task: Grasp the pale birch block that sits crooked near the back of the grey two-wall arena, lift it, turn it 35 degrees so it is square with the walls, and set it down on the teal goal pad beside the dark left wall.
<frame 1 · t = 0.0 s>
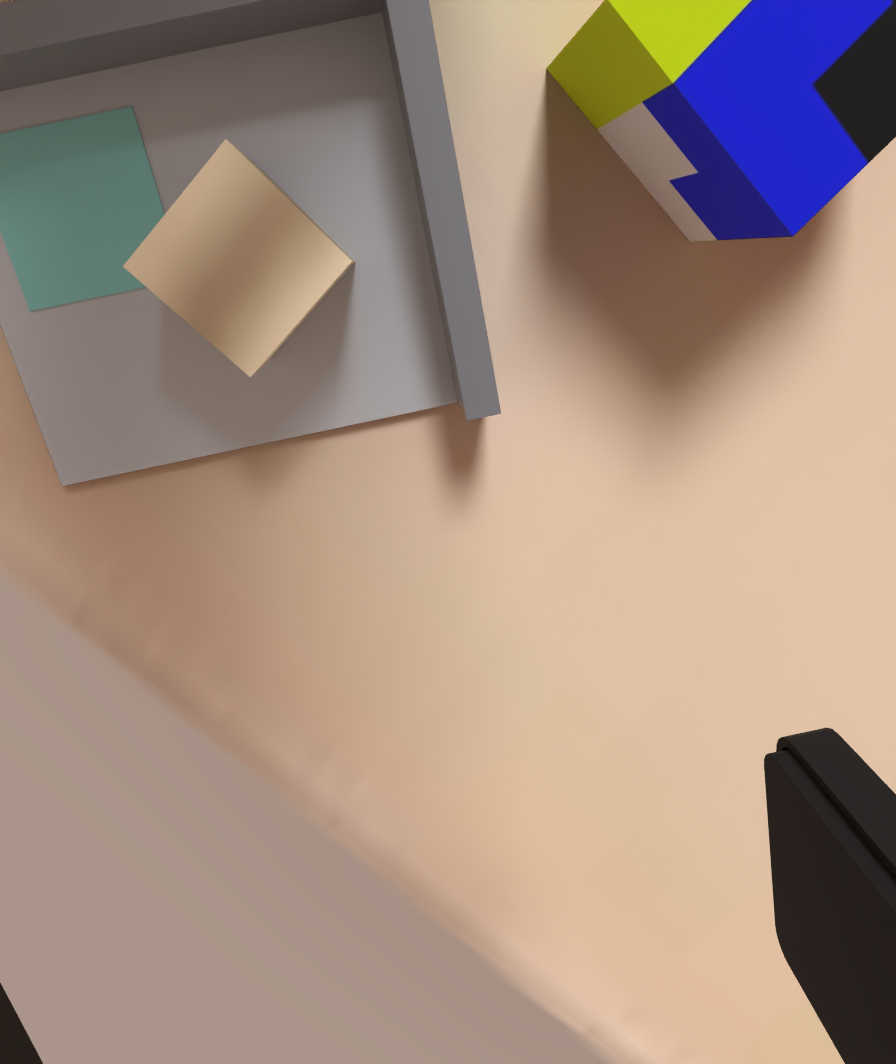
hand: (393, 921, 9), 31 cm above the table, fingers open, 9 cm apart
puzzle toy: (702, 71, 35), on the table
birch block: (260, 262, 35), point 1 cm above the table, touching arena
arena: (223, 246, 35), on the table
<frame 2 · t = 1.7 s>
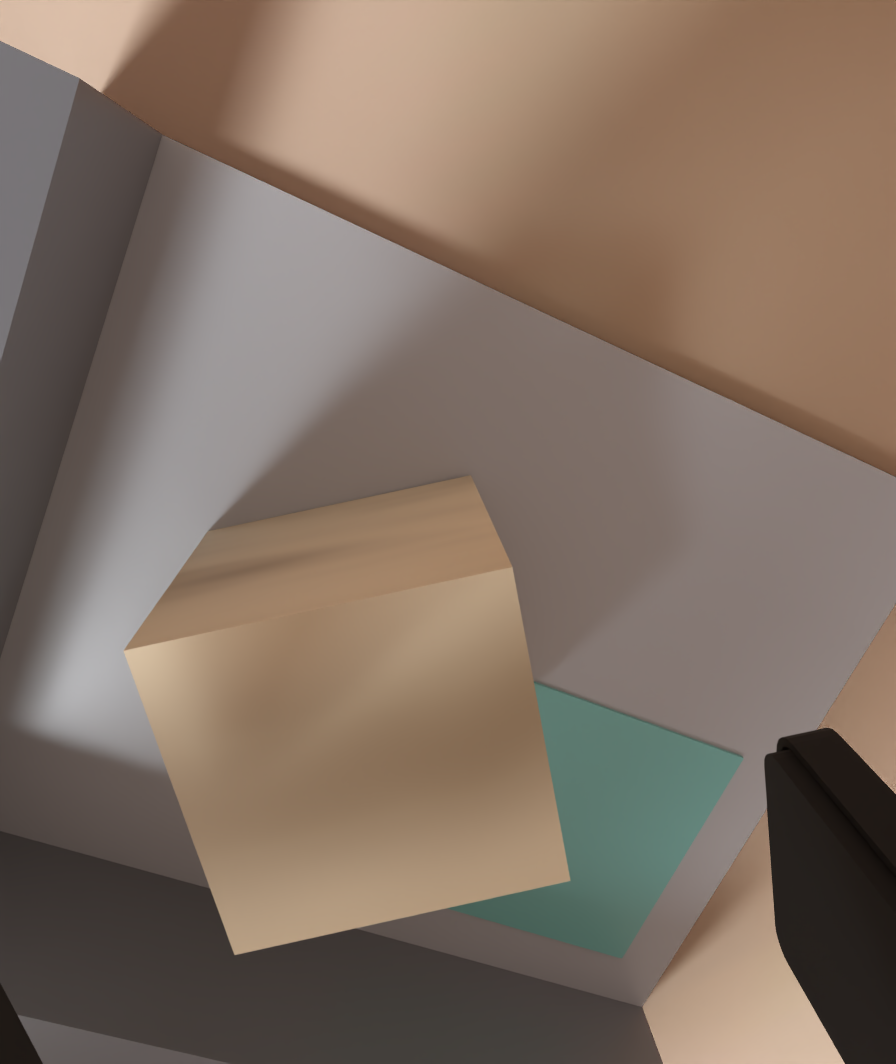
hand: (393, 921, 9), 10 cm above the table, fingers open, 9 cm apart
birch block: (369, 623, 19), point 1 cm above the table, touching arena
arena: (410, 668, 20), on the table
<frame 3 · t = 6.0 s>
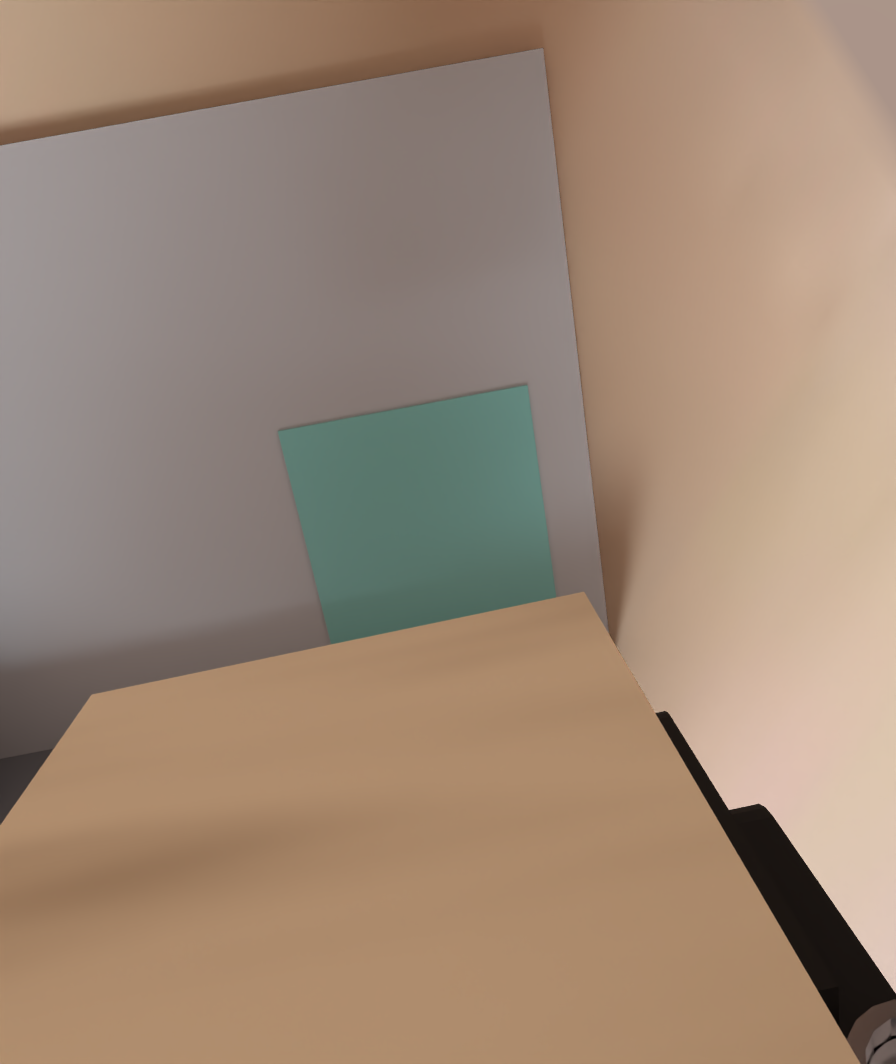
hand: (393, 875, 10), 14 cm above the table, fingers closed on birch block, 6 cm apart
birch block: (392, 843, 10), point 14 cm above the table, touching gripper
arena: (219, 473, 23), on the table
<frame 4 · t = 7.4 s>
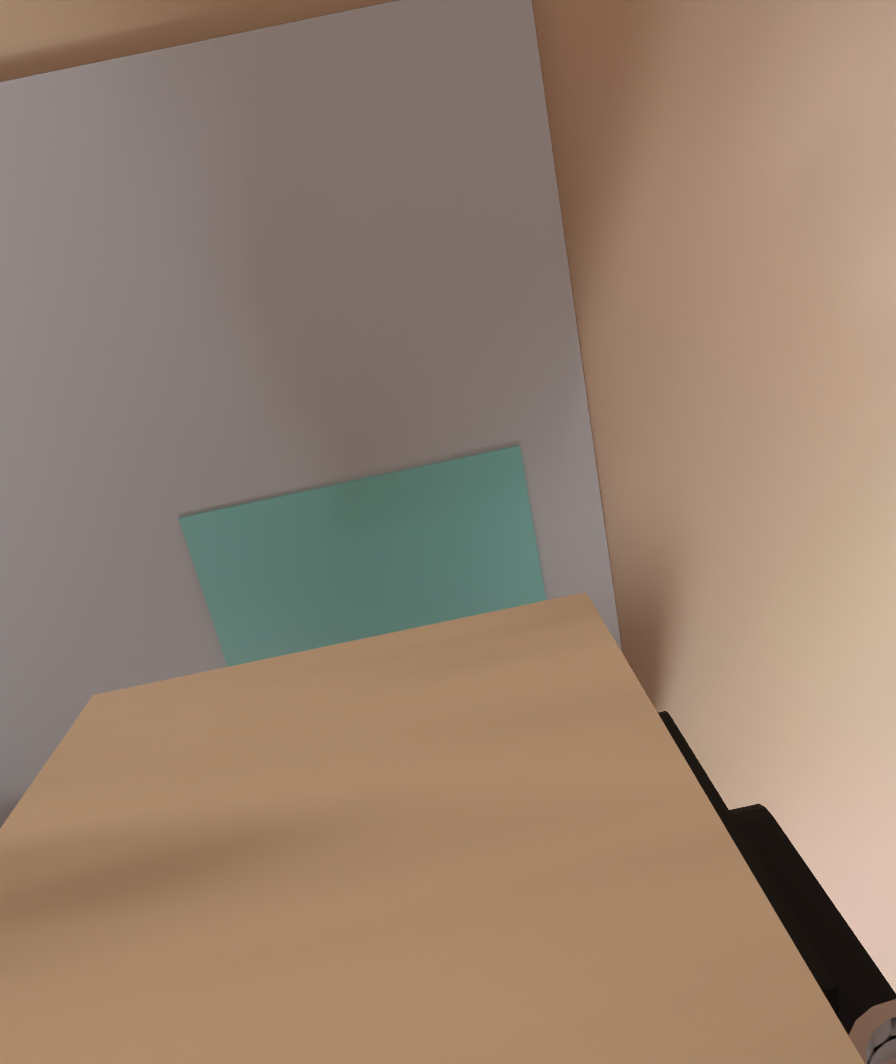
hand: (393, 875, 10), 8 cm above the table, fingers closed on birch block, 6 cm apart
birch block: (393, 843, 10), point 7 cm above the table, touching gripper
arena: (107, 573, 17), on the table
when the fingers open (2 cm above the table, at t = 8.9 s): birch block drops 1 cm, resting on arena.
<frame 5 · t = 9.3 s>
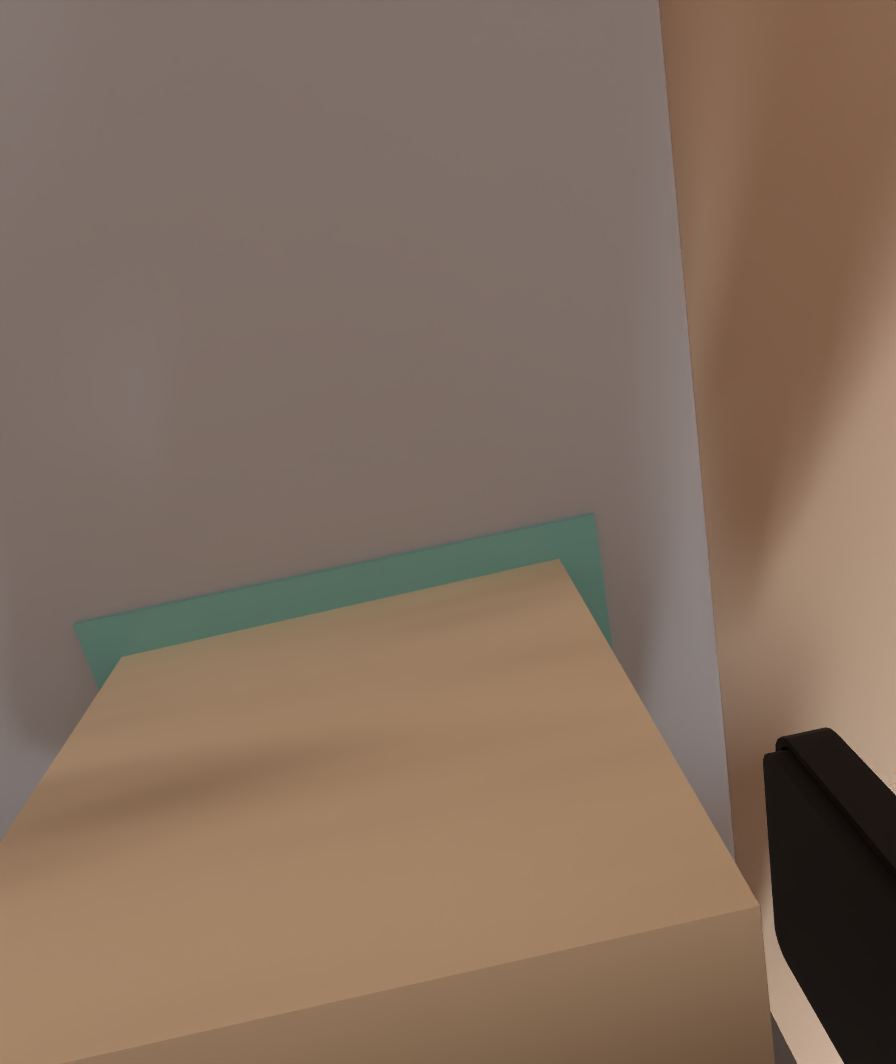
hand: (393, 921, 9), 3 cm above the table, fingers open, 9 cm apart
birch block: (392, 788, 12), point 1 cm above the table, touching arena
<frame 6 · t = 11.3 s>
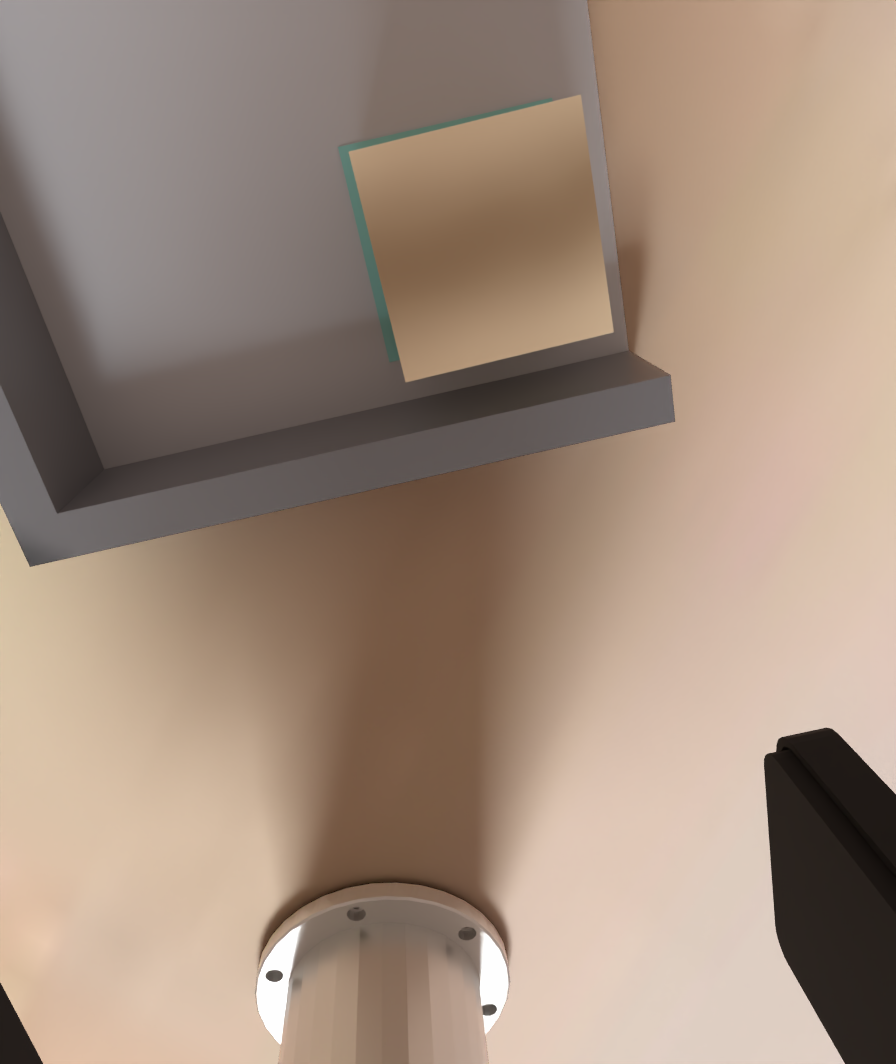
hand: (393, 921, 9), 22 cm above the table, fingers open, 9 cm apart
birch block: (466, 238, 27), point 1 cm above the table, touching arena
arena: (287, 194, 26), on the table
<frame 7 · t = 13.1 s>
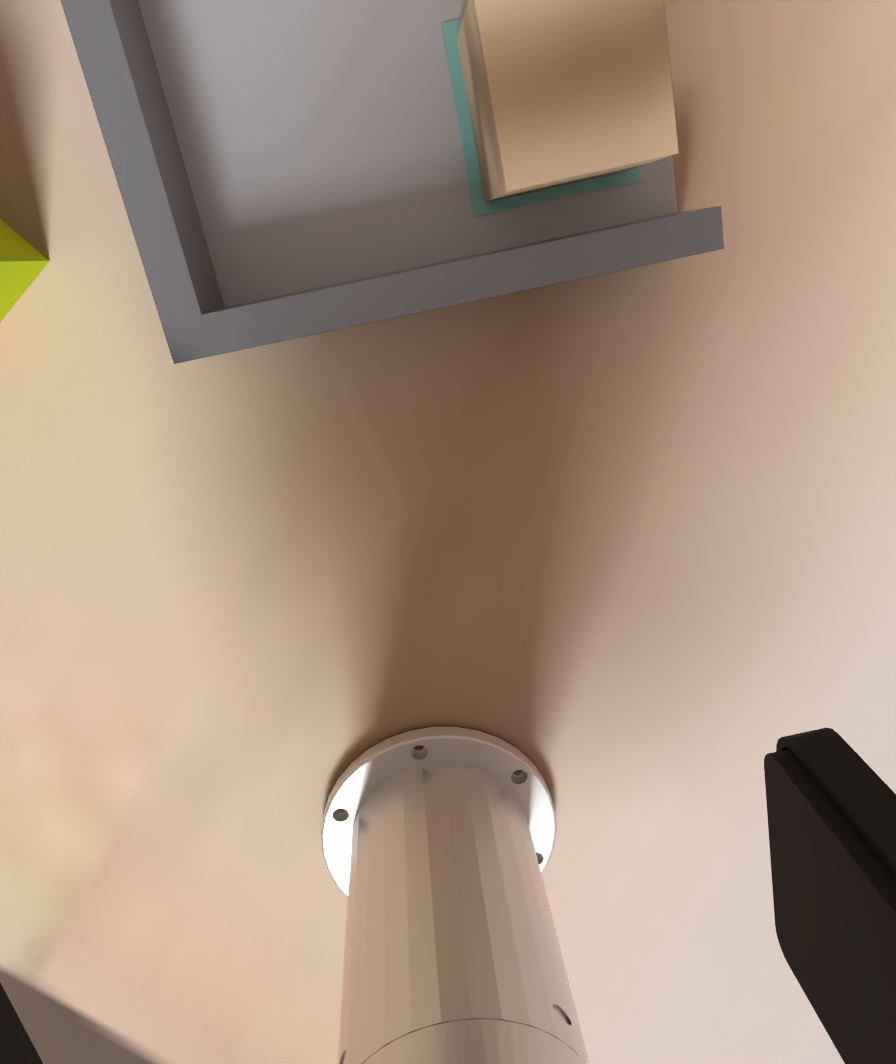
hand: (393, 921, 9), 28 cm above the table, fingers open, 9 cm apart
birch block: (544, 106, 31), point 1 cm above the table, touching arena
arena: (395, 66, 31), on the table
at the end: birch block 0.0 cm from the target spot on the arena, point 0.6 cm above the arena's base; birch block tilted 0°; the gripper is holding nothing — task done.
